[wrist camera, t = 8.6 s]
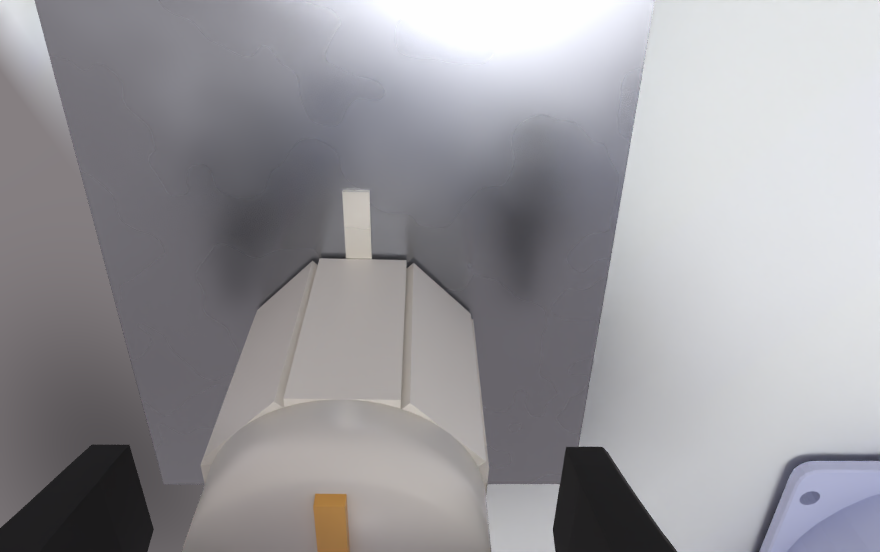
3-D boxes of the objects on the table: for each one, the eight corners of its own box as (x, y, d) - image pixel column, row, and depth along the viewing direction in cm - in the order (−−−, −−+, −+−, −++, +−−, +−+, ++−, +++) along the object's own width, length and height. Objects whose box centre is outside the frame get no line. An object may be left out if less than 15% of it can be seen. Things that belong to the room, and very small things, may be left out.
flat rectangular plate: (564, 454, 18) (604, 617, 14) (176, 454, 17) (105, 621, 13) (696, -379, 9) (887, -558, 6) (-34, -405, 9) (-372, -616, 5)
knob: (464, 427, 16) (483, 683, 11) (270, 425, 15) (199, 684, 11) (477, 261, 13) (508, 494, 8) (247, 257, 13) (143, 491, 8)
